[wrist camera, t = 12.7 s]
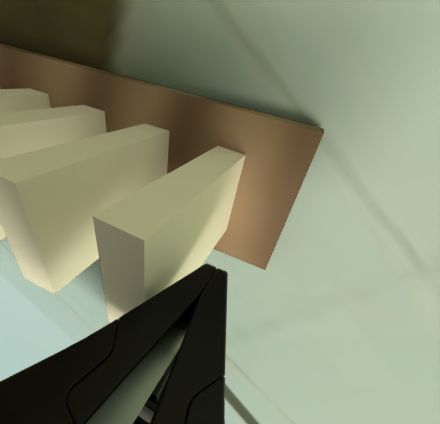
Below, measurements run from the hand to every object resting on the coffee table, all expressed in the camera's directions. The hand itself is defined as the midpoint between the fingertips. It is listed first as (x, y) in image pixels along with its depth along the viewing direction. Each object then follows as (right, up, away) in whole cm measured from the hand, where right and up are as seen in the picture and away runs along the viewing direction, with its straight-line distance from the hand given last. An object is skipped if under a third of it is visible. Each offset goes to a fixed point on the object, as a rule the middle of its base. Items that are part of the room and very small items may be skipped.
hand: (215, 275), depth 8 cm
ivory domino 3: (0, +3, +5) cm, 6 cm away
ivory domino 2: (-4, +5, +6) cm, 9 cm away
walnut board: (-8, +7, +8) cm, 13 cm away
